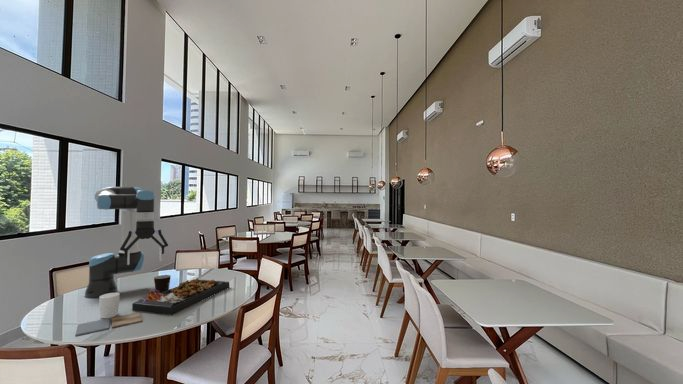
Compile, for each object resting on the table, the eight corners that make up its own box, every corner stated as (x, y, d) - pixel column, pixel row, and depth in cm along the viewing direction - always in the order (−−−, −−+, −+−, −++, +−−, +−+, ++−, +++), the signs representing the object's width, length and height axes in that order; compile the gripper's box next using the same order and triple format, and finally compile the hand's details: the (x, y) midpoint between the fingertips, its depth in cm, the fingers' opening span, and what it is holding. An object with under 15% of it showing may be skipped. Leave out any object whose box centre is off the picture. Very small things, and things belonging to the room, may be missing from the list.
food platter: (171, 316, 143) (171, 295, 143) (132, 311, 150) (132, 291, 150) (229, 288, 187) (229, 272, 187) (196, 286, 193) (197, 270, 193)
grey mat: (78, 325, 132) (78, 324, 132) (109, 319, 139) (109, 318, 139) (75, 336, 122) (75, 334, 122) (109, 328, 128) (109, 327, 128)
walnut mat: (112, 318, 139) (112, 317, 139) (140, 313, 146) (140, 311, 146) (112, 328, 129) (112, 326, 129) (142, 321, 136) (142, 320, 136)
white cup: (106, 312, 146) (106, 292, 147) (123, 312, 147) (123, 292, 147) (94, 319, 139) (94, 298, 139) (112, 318, 139) (112, 297, 140)
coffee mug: (162, 296, 171) (162, 279, 172) (150, 295, 173) (150, 278, 173) (177, 290, 183) (177, 273, 183) (165, 289, 184) (165, 273, 185)
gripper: (114, 222, 139) (113, 267, 138) (174, 219, 154) (174, 260, 154) (114, 221, 145) (113, 264, 144) (171, 219, 160) (171, 257, 160)
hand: (144, 262), depth 149 cm, fingers open, 13 cm apart
